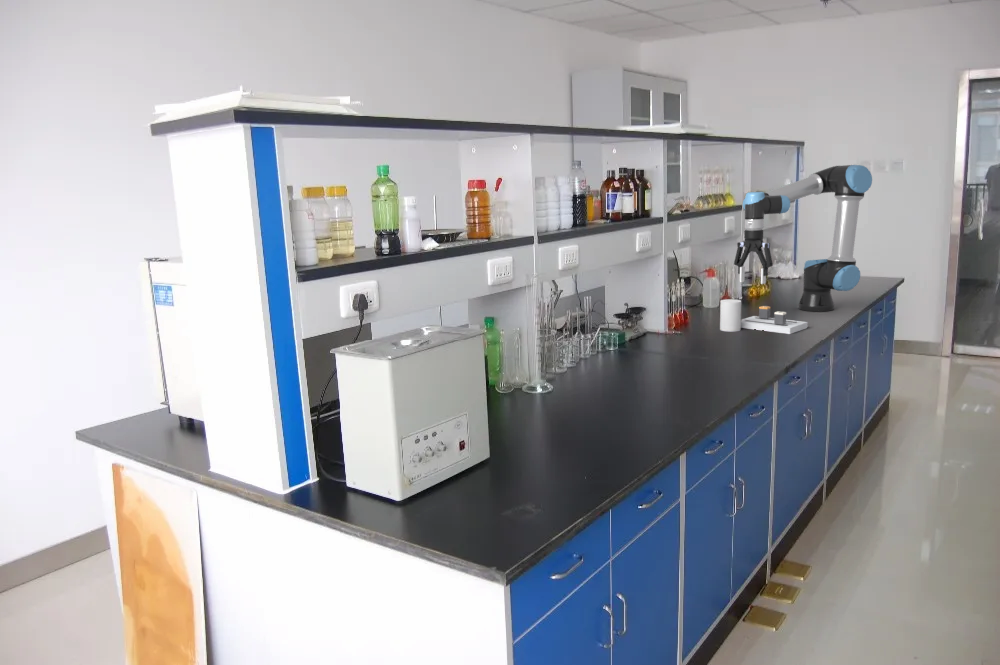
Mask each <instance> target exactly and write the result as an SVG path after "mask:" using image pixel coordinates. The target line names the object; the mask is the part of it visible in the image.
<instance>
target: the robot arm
mask: <svg viewBox="0 0 1000 665" xmlns="http://www.w3.org/2000/svg"><path fill="white" fill-rule="evenodd" d="M872 184H873V176H872V173H871V171H870V170H869V168H868V167H867V166H864V165H861V164H847V165H834V166H830V167H828V168H824V169H822V170H819V171H816V172H813V173H811V174H809V176H808V177H805V178H803V179H800V180H797V181H794V182H792V183H789V184H785V185H783V186H779V187H776V188H773V189H769V190H767V191H765V192H764V191H750V192H749V191H748V192H747V193H745V198H744V199H743V201H742V208H743V211H744V229H745V230H744V235H743V236H744V237H743V238H744V241H740V242H737V243H736V245H737V249H736V253H735V258H734V261H733V265H735V266H736V267H737V271H738V272H737V273H738V274H737V275H739V283H744V282H745V278H746V277H745V276H746V272H745V269H746V266H744V265H745V262H746V260H747V258H748V256H749V254H750V253H751V252H753V253H756V255H757V258H758V259H759V262H760V264H761V266H762V267H761V269H760V284H761V285H763V284H766V283H767V277H768V275H769V268H770V267H771V268H772V267H773V265H774V264H773V260H772V254H771V249H770V248H771V243H770V242H768V243H767V242H764V230H763V229H764V227H765V226H764V225H765V224H764V223H765V220H764V218H765V215H775V214H779V215H781V214H785V213H787V212H789V210H790V208H791V202H793V201H796V200H799V199H801V198H805V197H808V196H810V195H817V196H818V195H821V194H827V193H834V198H835V199H836V200H837V204H836V205H837V206H836V214H835V222H834V223H835V224H834V230H833V238H832V239H833V240H832V241H833V242H832V249H831V255H830V256H829V257H828V258H822V259H821V258H820V259H810V260H805V262H804V267H803V285H802V286H803V290H802V291H803V292H802V295H801V296H800V300H799V303H798V309H799V310H801V311H806V312H830V311H834V310H835V304H834V303H835V302H834V299H833V296H832V292H831V290H835V291H838V292H848V291H851V290H852V289H854V288H856V287H857V285H858V283H859V282H860V280H861V270H859V267H858V266H856V265H857V264H856V263H857V260H856V259H855V258H854V250H855V244H856V243H855V241H856V233H857V232H856V231H857V224H858V215H859V208H860V202H861V201H862V200H863V199H864V198H865V193H866V192H868V191H869V189H870V188H871V186H872ZM744 247H745V249H744ZM762 247H763V249H764V250H763V249H762Z"/></svg>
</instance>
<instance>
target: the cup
mask: <svg viewBox="0 0 1000 665" xmlns="http://www.w3.org/2000/svg"><path fill="white" fill-rule="evenodd" d="M719 306H720V310H719V311H720V313H719V314H720V317H719V330H720V331H722V332H729V333H730V332H739V331H741V329H742V328H741V320H742V300H741V299H731V298H728V299H721V300H720V305H719Z"/></svg>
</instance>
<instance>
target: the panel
mask: <svg viewBox="0 0 1000 665" xmlns="http://www.w3.org/2000/svg"><path fill="white" fill-rule="evenodd" d="M808 324H809V322H808V321H800V320H792V319H786V324H784V325H780V324H774V317H770V318H768V319H764V318H759V315H758V316H757V315H752V316H749V317H746V318H741V329H748V330H754V329H756V331H757V330H758V331H762V330H764V331H765V332H771V333H777V334H778V333H779V334H787V335H790V334H794V333H797V332H799V331H803V330H805V329H808Z"/></svg>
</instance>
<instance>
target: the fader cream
mask: <svg viewBox="0 0 1000 665" xmlns="http://www.w3.org/2000/svg"><path fill="white" fill-rule="evenodd" d="M773 318H774V324H780V325H784V324H786V320H787V311H778V310H777V311H775V312H774V315H773Z"/></svg>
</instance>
